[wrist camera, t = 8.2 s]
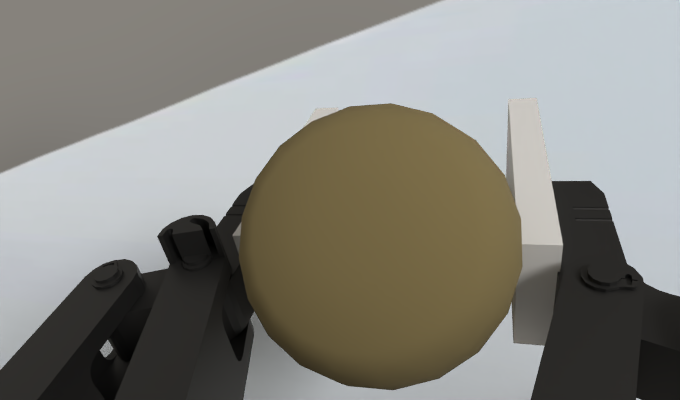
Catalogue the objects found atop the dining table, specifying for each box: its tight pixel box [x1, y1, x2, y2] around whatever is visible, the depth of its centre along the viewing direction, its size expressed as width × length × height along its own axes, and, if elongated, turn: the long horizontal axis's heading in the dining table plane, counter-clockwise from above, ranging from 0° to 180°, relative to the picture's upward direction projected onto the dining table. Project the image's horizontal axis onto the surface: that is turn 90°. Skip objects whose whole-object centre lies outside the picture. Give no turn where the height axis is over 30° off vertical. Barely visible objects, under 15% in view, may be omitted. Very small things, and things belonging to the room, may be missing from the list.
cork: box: [239, 104, 523, 390], centre depth 13 cm, size 6×6×11 cm
